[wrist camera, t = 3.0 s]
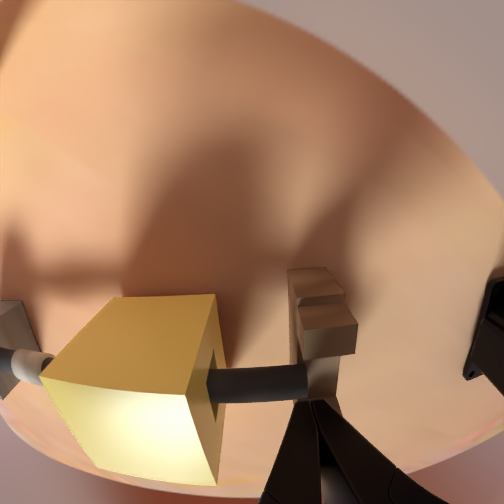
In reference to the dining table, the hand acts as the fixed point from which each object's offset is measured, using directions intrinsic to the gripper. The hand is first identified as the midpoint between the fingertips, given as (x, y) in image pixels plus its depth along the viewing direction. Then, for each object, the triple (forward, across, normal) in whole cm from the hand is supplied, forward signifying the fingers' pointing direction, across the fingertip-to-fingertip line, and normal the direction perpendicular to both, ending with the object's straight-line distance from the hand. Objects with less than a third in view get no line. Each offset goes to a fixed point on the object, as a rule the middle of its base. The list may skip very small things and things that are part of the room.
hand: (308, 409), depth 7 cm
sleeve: (+4, +5, 0) cm, 7 cm away
